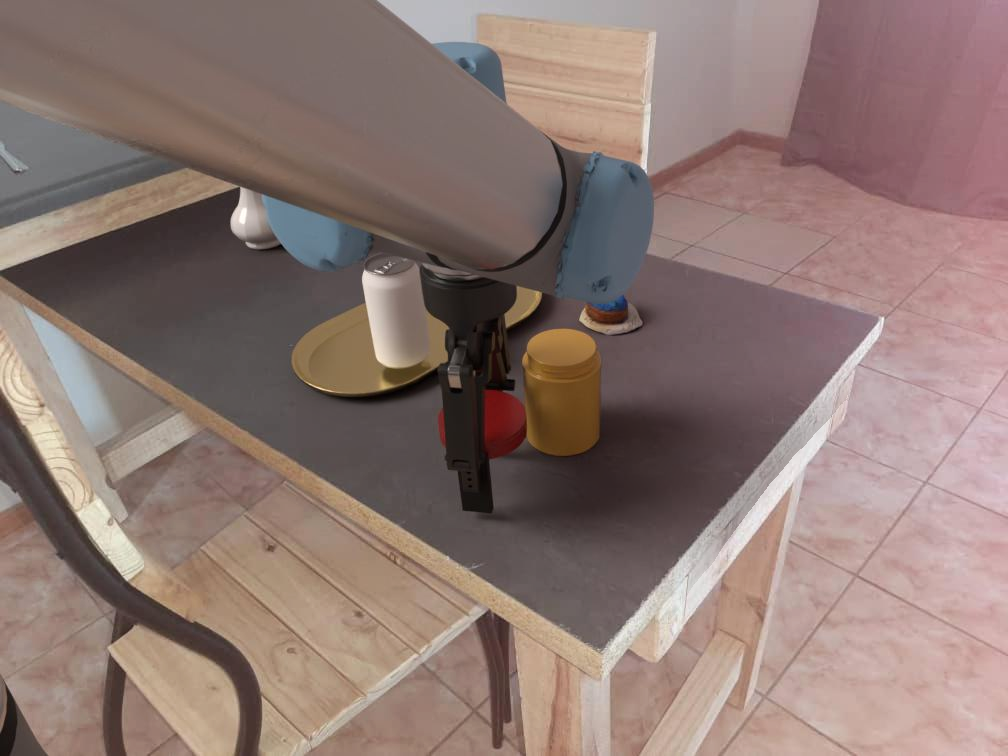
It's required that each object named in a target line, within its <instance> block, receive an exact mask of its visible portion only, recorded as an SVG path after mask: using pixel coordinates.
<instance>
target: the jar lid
mask: <svg viewBox="0 0 1008 756" xmlns="http://www.w3.org/2000/svg"><path fill="white" fill-rule="evenodd" d="M437 426H438V433H439V439H440V442H441V445H442V446H443V447H444V448H445V449H446V442H445V428H444V414H443V407H441V409H440V411H439V413H438V416H437ZM526 434H527V417H526V409H525V404H524V403H523V402H522V401H521V400H520V399H519V398H517V397H516V396H514V395H512V394H510V393H508V392H506V391H503V392H502V391H497V390H485V453H488V454H489V460H494V459H497V458H501V457H504V456H506V455H509V454H511V453H512V452H514V451H515V450H517V448H519V447H520V446H521V445H522V443H524V441H525V439H527V436H526Z"/></svg>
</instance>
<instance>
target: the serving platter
mask: <svg viewBox="0 0 1008 756" xmlns="http://www.w3.org/2000/svg"><path fill="white" fill-rule="evenodd" d="M516 287H517V298H516V302H515V304H514V305H513V307H512V308H511V309H510V310H509V311H508V312H507V313H505V314H504V315H505V323H506V331H507V332H509V330H511V329H513V328H515V327H517V326H518V325H521V323H523V322H525V321H526V320H528V319H529V318H531V316H532V315H533V314H534V313H535V312H536V311H537V309H538V308H539V306H540V305H541V302H542V299H543V293H542V292H538V291H534V290H531V289H527V288H523V287H519V286H516ZM426 315H427V323H428V331H429V338H430V347H431V350H430V353H429V355H428V356H427V358H426V359H425V360H424V361H423V362H421V363H420V364H418V365H415V366H413V367H409V368H402V369H395V368H390V367H387V366H384V365H383V364H382V363H380V362H379V361H378V360H377V358H376V355H375V350H374V345H373V339H372V334H371V328H370V323H369V317H368V312H367V306H366V302H364V303H362V304H359V305H357V306H355V307H353V308H351V309H348V310H347V311H345V312H342V313H340V314H339V315H336V316H334V317H331V318H330V319H327V320H325V321H324V322H322V323H320V324H318V325H317V326H314V328H311V330H309V331H308V332H306V333H305V334H304V336H302V337H301V338H300V340H299V341H298V342H297V343H296V345H295V346H294V348H293V350H292V353H291V368H292V370H293V372H294V374H295V375H296V377H297V378H298V379H299V380H300V381H301V382H302V383H304V384H305V385H306V386H308V387H309V388H311V389H313V390H316V391H317V392H321V393H323V394H327V395H331V396H335V397H342V398H365V397H366V398H369V397H377V396H382V395H386V394H391V393H393V392H398V391H401V390H403V389H406V388H408V387H410V386H412V385H414V384H416V383H418V382H420V381H422V380H423V379H425V378H427V377H429V376H431V375H433V374H434V373H436V372H438V368H439V365H440V363H448V353H447V351H446V349H445V332H446V330H449V327H448V326H447V325H446V324H445V323H443V322H442V321H440V320H439V319H436V318H435V317H433V316H432V315H431V314H430V313H429V312H428V311H427V310H426Z"/></svg>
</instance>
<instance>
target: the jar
mask: <svg viewBox="0 0 1008 756" xmlns="http://www.w3.org/2000/svg"><path fill="white" fill-rule="evenodd" d="M598 350H599V349H598V345H597V343H596V341H595V340H594V339H593V338H592V337H591V336H590V335H589V334H587V333H586V332H583V331H581V330H576V329H573V328H553V329H548V330H544V331H541V332H539V333H537V334H536V335H534V336H533V337H531V338H530V340H528V343H527V345H526V352H525V353H524V355H523V356H522V360H521V362H522V380H523V382H522V383H523V401H524V407H525V409H526V417H527V434H526V439H527V441H528V442H529V444H530V445H531V446H532V447H533V448H534V449H536V450H538V451H539V452H542V453H544V454H547V455H550V456H556V457H565V456H566V457H568V456H569V457H570V456H575V455H580V454H581V453H584V452H586V451H588V450H590V449H591V448H592V447H594V446H595V445H596V444H597V442H598V441H599V439H600V437H601V405H602V404H601V401H602V399H601V398H602V356H601V355H600V353H599V351H598Z"/></svg>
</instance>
